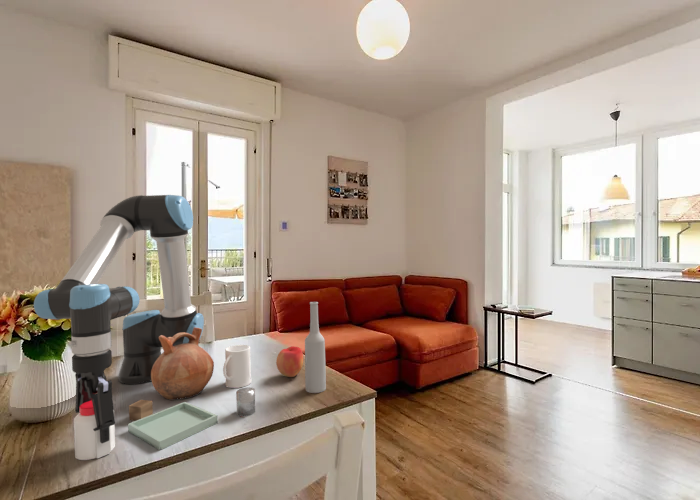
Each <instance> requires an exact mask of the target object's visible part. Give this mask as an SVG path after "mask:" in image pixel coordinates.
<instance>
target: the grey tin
mask: <svg viewBox="0 0 700 500" xmlns="http://www.w3.org/2000/svg"><path fill="white" fill-rule="evenodd" d="M235 395H236V397H235V398H236V415H237V416H239V417H249V416H251V415H253V414H255V413H256V390H255V388H253V387H250V386H249V387H248V386H246V387H240V389H239V388H238V389H237V390H236V394H235Z"/></svg>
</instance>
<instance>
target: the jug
mask: <svg viewBox="0 0 700 500" xmlns="http://www.w3.org/2000/svg"><path fill="white" fill-rule="evenodd" d="M201 332H202V329H201V328H195V327H194V329H193V332H192V335H191V334H189V333H185V332H182V333H177V334H175V335H174V336H173V337H168V338H166V337H165V336H163V335H161V336H159V340H160V342H161V344H162V347H161V348H162V349H163V352H161V355H160V356H159V357H158V359H157V360H156V361H155V363H154V365H153V367H152V370H151V380H152V381H151V383H152V386H153V388H154V389H155V391H156V392H157V393H158V394H159V395H160V396H162V397H163V398H164V399H166V400H171V401H172V400H173V401H174V400H175V401H176V400H186V399H189V398H191V397H195V396H197V395H199V394H200V393H202V392H203V390H204V389H205V388H206V387H207V385H208V383H209V382H210V380H211V379H212V377H213V373H214V368H215V362H214V359H213V357H212V356H211V355H210V354H209V352H208V351H206V349H204V348H203V347H201V346H200V345H199V342H200V340H199V339H201V338H200V335H201ZM202 333H203V332H202ZM201 336H202V335H201ZM181 337H187V338H188V339H189V342H188V343H184V344H179V345H176V346H173V344H174V343H175V341H176V340H178V339H179V338H181Z"/></svg>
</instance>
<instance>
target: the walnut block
mask: <svg viewBox="0 0 700 500" xmlns="http://www.w3.org/2000/svg"><path fill="white" fill-rule="evenodd" d="M153 405H154V404H153V400H147V399H139V400H137V401H135V402H133V403H131V404H130V405H128V416H129V417H128V420H129V421H132V422H134V421H137V420H139V419H142V418H144V417H147V416H149V415H152V414H154V411H153V410H154V409H153Z"/></svg>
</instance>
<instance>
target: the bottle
mask: <svg viewBox="0 0 700 500" xmlns="http://www.w3.org/2000/svg"><path fill="white" fill-rule="evenodd" d="M318 304H319V302H318V301H310V302H309V305H310V306H309V307H310V308H309V309H310V310H309V311H310V313H309V314H310V320H309V321H310V323H309V327H310V328H309V333H308V335H307V336H306V337H305V339H304V372H305V374H304V375H305V376H304V384H305V387H304V388H305V391H306V392H307V393H310V394H311V393H312V394H318V393H323V392H324V391H326V390H327V384H326V383H327V382H326V381H327V376H326V375H327V373H326V372H327V371H326V370H327V369H326V367H327V366H326V342H325V341H326V340H325V338H324V336H323V335H322V334H321V332H320V328H319V327H320V325H319V305H318Z"/></svg>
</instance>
